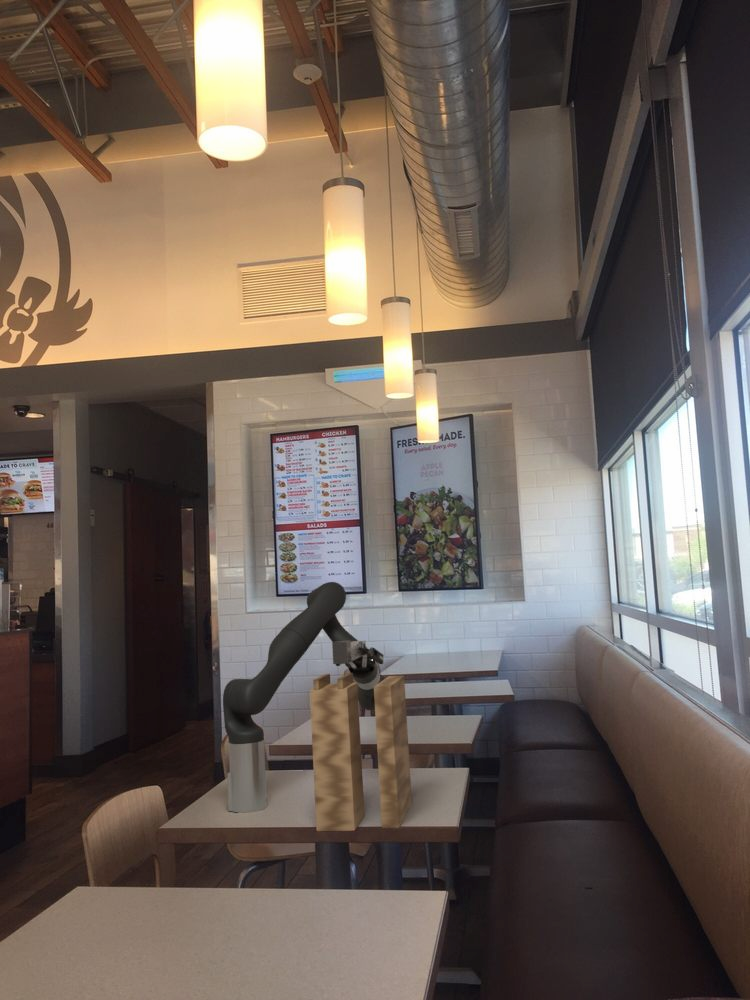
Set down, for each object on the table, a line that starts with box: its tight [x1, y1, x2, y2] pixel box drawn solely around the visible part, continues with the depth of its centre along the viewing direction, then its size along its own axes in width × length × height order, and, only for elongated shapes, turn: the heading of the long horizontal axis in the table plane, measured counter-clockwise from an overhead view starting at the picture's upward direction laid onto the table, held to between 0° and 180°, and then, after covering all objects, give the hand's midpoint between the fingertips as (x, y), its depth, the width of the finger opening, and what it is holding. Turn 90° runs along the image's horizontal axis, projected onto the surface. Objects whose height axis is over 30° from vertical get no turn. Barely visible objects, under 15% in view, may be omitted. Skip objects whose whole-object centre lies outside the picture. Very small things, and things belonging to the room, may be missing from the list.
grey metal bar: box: [331, 640, 367, 665], centre depth 216 cm, size 25×4×5 cm, turn 170°
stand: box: [309, 672, 413, 832], centre depth 204 cm, size 19×24×34 cm
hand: (352, 645), depth 219 cm, fingers closed on grey metal bar, 3 cm apart
